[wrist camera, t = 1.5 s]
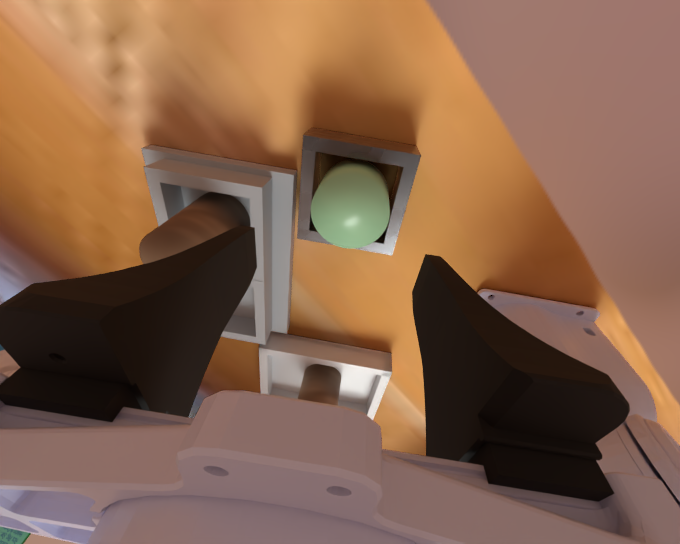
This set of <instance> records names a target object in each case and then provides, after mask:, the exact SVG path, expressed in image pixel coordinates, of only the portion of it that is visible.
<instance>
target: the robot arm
mask: <svg viewBox="0 0 680 544" xmlns="http://www.w3.org/2000/svg"><path fill="white" fill-rule="evenodd" d="M256 269H257V258H256V242H255V228H254V227H248V226H242V225H240V226H237V227H235V228H232V229H230V230H228V231H226V232H224V233H222V234H220V235H218V236H216V237H213V238H211V239H209V240H207V241H205V242H203V243H201V244H198V245H196V246H194V247H191V248H189V249H187V250H184V251H182V252H180V253H177V254H174V255H172V256H169V257H166V258H163V259H160V260H157V261H154V262H150V263H147V264H143V265H139V266H135V267H131V268H127V269H123V270H119V271H114V272H110V273H105V274H99V275H94V276H88V277H82V278H75V279H67V280H59V281H51V282H43V283H34V284H32V285H30V286H28V287H27V288H25V289H24V290H22V291H21V292H19V293H18V294H16V295H15V296H13V297H12V298H10V299H9V300H7V301H6V302H4V303H2V304H1V305H0V345H1V346H2V347H3V348H4V349H5V350H6V352H7V353H8V354H9V355H10V356H11V357H12V358H13V359H14V361H15V362H16V363H17V364H18V365H19V366H20V368H19V369H18V370H17V371H16V372H14V373H13V374H12V375H11V376H10V377H8V376H7V375H5V374H3V373H1V372H0V526H1V527H5V528H10V529H15V530H19V531H23V532H28V533H32V534H37V535H41V536H46V537H50V538H55V539H59V540H64V541H68V542H73V543H77V544H680V446H679V444H678V443H677V442H676V441H675V440H674V439H673V438H672V436H671V435H670V434H669V433H668V432H667V431H666V430H665V429H664V428H663V427H662V426H661V425H660V424H659V423H657V413H656V408H655V404H654V400H653V398H652V395H651V393H650V391H649V389H648V387H647V386H646V384H645V383H644V381H643V380H642V379H641V378H640V377H639V375H638V374H637V373H636V372H635V371H634V369H633V368H632V367H631V366H630V365H629V363H628V362H627V361H626V360H625V359H624V357H623V356H622V355H621V354H620V353H619V352H618V350H617V349H616V348H615V347H614V346H613V344H612V343H611V342H610V341H609V340H608V338H607V337H606V336H605V335H604V334H603V332H602V331H601V330H600V329H599V328H598V327H597V325H596V324H595V323H594V321H595V320H596V319H597V318H598V317H599V315H600V312H599V311H598V310H597V309H595V308H591V307H585V306H579V305H574V304H568V303H563V302H557V301H552V300H546V299H540V298H535V297H529V296H524V295H518V294H513V293H507V292H501V291H496V290H490V289H481V290H479V291H478V293H476V292H475V291H474V290H473V289H472V288H471V287H470V286H469V285H468V284H467V283H466V282H465V281H464V280H463V279H462V278H461V277H460V276H459V275H458V274H457V273H456V272H455V271H454V270H453V268H452V267H451V266H450V265H449V264H448V263H447V262H446V261H445V260H444V259H443V258H441V257H440V256H434V255H427V254H426V255H425V257H424V260H423V263H422V266H421V269H420V272H419V274H418V277H417V280H416V283H415V286H414V289H413V291H412V297H413V314H414V320H415V326H416V331H417V336H418V342H419V347H420V352H421V358H422V365H423V377H424V392H425V413H426V456H422V455H416V454H410V453H404V452H398V451H392V450H386V449H382V437H381V428H380V426H379V425H378V424H377V423H376V422H374V421H373V420H372V419H371V418H369V417H368V416H367V415H366V414H365V413H363V412H359V411H356V410H353V409H350V408H347V407H343V406H337V405H331V404H324V403H318V402H312V401H306V400H300V399H294V398H287V397H281V396H275V395H269V394H263V393H256V392H250V391H244V390H223V391H220V392H217V393H215V394H213V395H211V396H209V397H206V398H204V400H203V402H202V404H201V406H200V408H199V410H198V412H197V414H196V416H195V418H189V417H188V416H189V413H190V410H191V408H192V405H193V402H194V399H195V397H196V394H197V392H198V389H199V386H200V384H201V381H202V379H203V376H204V374H205V371H206V369H207V366H208V364H209V362H210V359H211V357H212V355H213V352H214V350H215V348H216V346H217V343H218V341H219V339H220V337H221V334H222V333H223V331H224V329H225V327H226V325H227V323H228V322H229V320H230V318H231V317H232V315H233V313H234V312H235V310H236V308H237V307H238V305H239V303H240V302H241V300H242V298H243V297H244V295H245V293H246V291H247V290H248V288H249V286H250V284H251V281H252V279H253V277H254V274H255V271H256ZM490 295H493V296H491V297H488V296H490ZM579 311H580V312H579Z"/></svg>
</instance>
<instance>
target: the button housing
mask: <svg viewBox="0 0 680 544" xmlns="http://www.w3.org/2000/svg"><path fill="white" fill-rule="evenodd" d="M322 153H327V154H332V155H338V156H344V157H350V158H355V159H361V160H367V161H372V162H378V163H384V164H390V165H395V166H399V167H398V171H397V175H396V179H395V183H394V187H393V191H392V195H391V199H390V203H389V206H390V217H389V222H388V225H387V227H386V229H385V231H384V232H383V234H382V235H381V236H380V237H379V238H378V239H377V240H376V241H374V242H373V243H371V244H369V245H367V246H364V247H360V248H354V249H359V250H365V251H370V252H376V253H382V254H387V255H392V254H393V251H394V247H395V244H396V240H397V237H398V233H399V230H400V226H401V223H402V220H403V216H404V213H405V209H406V206H407V202H408V199H409V195H410V192H411V188H412V185H413V182H414V178H415V175H416V171H417V168H418V164H419V161H420V157H421V154H420V152H419V150H418V148H417V146H415V145H410V144H404V143H398V142H392V141H386V140H381V139H375V138H369V137H363V136H358V135H352V134H346V133H340V132H335V131H329V130H323V129H317V128H311V129H309V130H308V131H307V132H306V133H305V134H304V135H303V149H302V166H301V183H300V200H299V217H298V234H297V238H298V239H303V240H309V241H314V242H320V243H326V244H331V243H330V242H328V241H327V240H325V239H324V238H323V237H322V236H321V235H320V234H319V233H318V231H317V230H316V228H315V226H314V224H313V221H312V218H311V203H312V199H313V197H314V195H315V192H316V191H317V189H318V185H319V175H320V164H321V154H322ZM331 245H334V244H331Z"/></svg>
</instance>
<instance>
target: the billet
mask: <svg viewBox="0 0 680 544" xmlns="http://www.w3.org/2000/svg"><path fill="white" fill-rule="evenodd" d="M340 384H341V374H340V372H339V371H338V370H337V369H336V368H334V367H332V366H326V365H321V364H313V365H310V366H308V367H307V368H306V369H305V372H304V376H303V380H302V384H301V388H300V392H299V396H298V399H300V400H306V401H312V402H318V403H324V404H331V405H337V406H338V400H339V392H340Z"/></svg>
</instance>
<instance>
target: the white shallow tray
mask: <svg viewBox="0 0 680 544" xmlns="http://www.w3.org/2000/svg"><path fill="white" fill-rule="evenodd" d="M259 364H260V389H261V393H263V394H269V395H275V396H281V397H287V398H294V399H298V396H299V392H300V388H301V384H302V380H303V376H304V372H305V369H306V368H307V367H308V366H310V365H313V364H321V365H326V366H332V367H334V368H336V369H337V370H338V371H339V372H340V374H341V384H340V392H339V400H338V406H343V407H347V408H350V409H353V410H356V411H359V412H363V413H365V414H366V415H367V416H368V417H369V418H371V419H372V420H373V418H374V416H375V413H376V411H377V408H378V406H379V403H380V401H381V399H382V396H383V394H384V391H385V389H386V386H387V384H388V381H389V379H390V376H391V374H392V356H391V353H388V352H382V351H377V350H371V349H366V348H360V347H355V346H349V345H344V344H339V343H333V342H328V341H322V340H317V339H311V338H306V337H300V336H295V335H289V334H284V333H278V332H273V331H271V332H270V335H269V337H268V339H267V342H266V344H265V345H264V344H260V346H259Z"/></svg>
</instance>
